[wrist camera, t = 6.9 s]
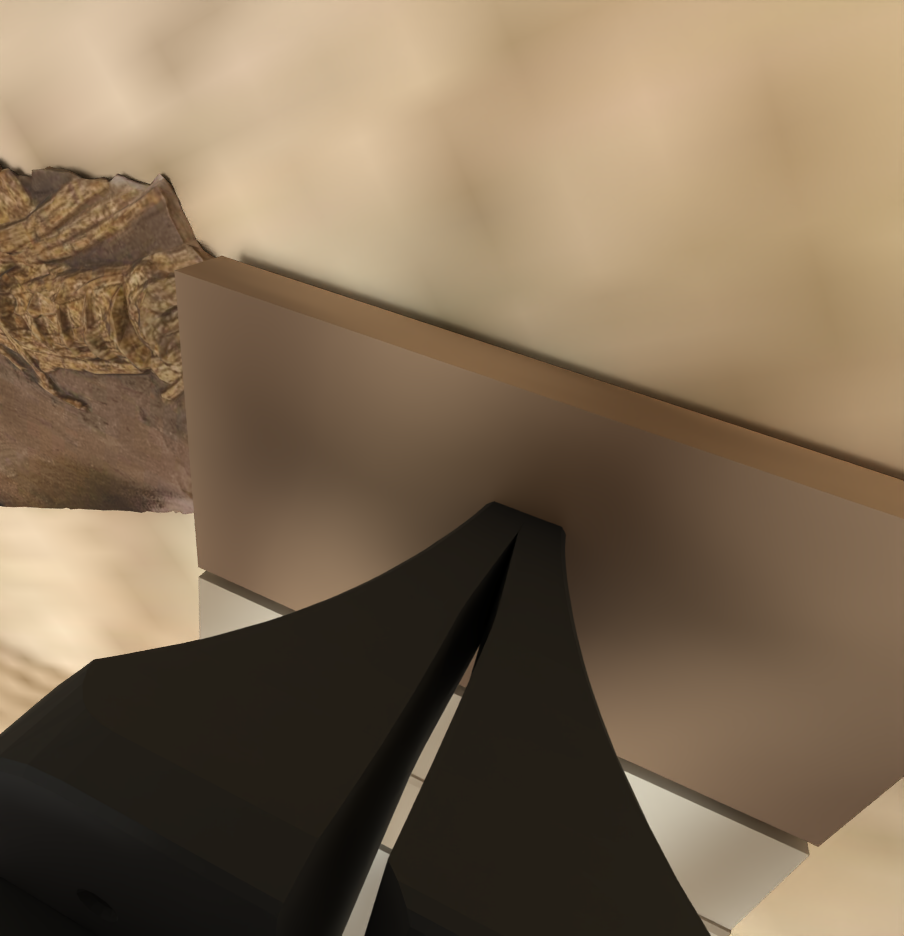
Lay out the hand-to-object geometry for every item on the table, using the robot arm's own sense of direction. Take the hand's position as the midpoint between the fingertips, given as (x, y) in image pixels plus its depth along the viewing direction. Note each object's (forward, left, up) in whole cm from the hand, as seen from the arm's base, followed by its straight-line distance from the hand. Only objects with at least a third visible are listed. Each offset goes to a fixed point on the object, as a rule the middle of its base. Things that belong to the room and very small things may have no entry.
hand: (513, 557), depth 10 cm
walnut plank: (0, 0, -1) cm, 1 cm away
